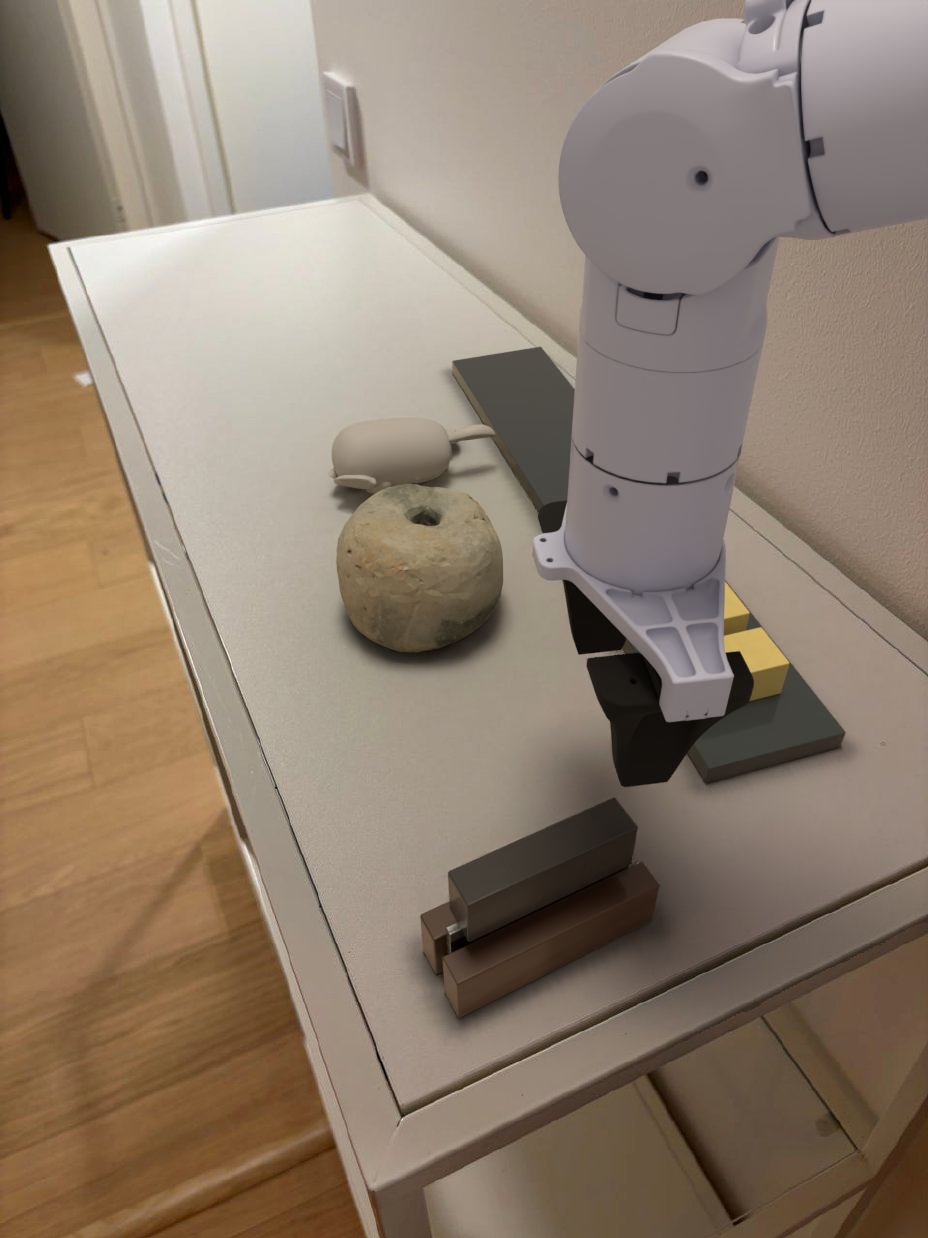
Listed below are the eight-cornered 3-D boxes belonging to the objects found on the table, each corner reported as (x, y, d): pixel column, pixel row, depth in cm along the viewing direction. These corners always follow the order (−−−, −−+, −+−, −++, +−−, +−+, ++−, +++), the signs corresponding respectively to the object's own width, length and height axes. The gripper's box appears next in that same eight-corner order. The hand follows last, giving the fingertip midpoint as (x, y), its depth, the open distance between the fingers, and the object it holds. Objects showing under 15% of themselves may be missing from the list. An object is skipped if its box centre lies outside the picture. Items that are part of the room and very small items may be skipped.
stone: (503, 646, 53) (376, 511, 50) (392, 702, 60) (276, 586, 57) (564, 541, 59) (455, 418, 57) (458, 603, 66) (357, 495, 64)
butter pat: (781, 693, 53) (790, 662, 52) (708, 712, 52) (715, 681, 51) (753, 657, 56) (761, 626, 54) (683, 674, 55) (689, 643, 53)
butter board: (841, 747, 52) (846, 732, 51) (705, 783, 50) (709, 768, 50) (540, 358, 85) (541, 346, 84) (452, 373, 83) (452, 360, 82)
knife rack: (652, 920, 45) (660, 884, 43) (458, 1019, 41) (457, 985, 39) (609, 861, 47) (614, 824, 45) (422, 949, 44) (419, 914, 42)
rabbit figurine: (347, 484, 65) (508, 467, 69) (332, 411, 65) (492, 399, 70) (325, 511, 70) (475, 494, 75) (311, 444, 71) (461, 431, 76)
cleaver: (632, 910, 45) (649, 822, 41) (459, 996, 42) (456, 912, 38) (610, 880, 46) (624, 791, 42) (441, 961, 43) (435, 876, 39)
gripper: (503, 348, 38) (500, 607, 47) (590, 586, 27) (564, 862, 37) (679, 334, 39) (642, 593, 48) (830, 561, 28) (745, 838, 37)
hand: (619, 708), depth 42 cm, fingers open, 7 cm apart
